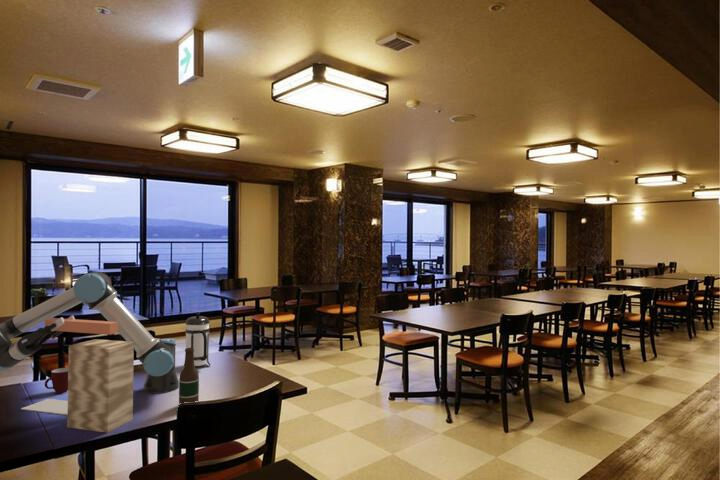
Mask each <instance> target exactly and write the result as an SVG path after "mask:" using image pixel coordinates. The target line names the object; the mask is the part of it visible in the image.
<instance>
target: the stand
mask: <svg viewBox="0 0 720 480" xmlns="http://www.w3.org/2000/svg"><path fill="white" fill-rule="evenodd" d="M134 351H135V349H134V342H127V341H126V340H125V341H124V340H111V339H110V340H109V339H98V338H97V339H96V338H95V339H91V340H86V341H83V342H78V343H75V344H72V345H71V344H70V345H68V367H67V368H68V390H67V401H68V415H66V417H67V418H66V419H67V423H66V425H67V426H66V427H67V428H71V429H78V430H84V431H85V430H86V431H91V432H92V431H93V432H99V433H100V432H102V433H111V432H112V431H114V430H116V429H117V428H120V427H122V426H123V425H125V424H128V423H130V422H131V421H133V419H134V416H133V415H134V413H133V412H134V368H135V367H134V363H135V359H134V358H135V357H134V355H135V352H134Z"/></svg>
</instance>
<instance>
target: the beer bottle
mask: <svg viewBox="0 0 720 480" xmlns="http://www.w3.org/2000/svg"><path fill="white" fill-rule="evenodd" d="M184 352H185V354H184V363H185V365H184V364H183V368H182V369H181V371H180V374H179V378H178V380H179V387H178V389H179V390H178V405H179V404H180V403H184V402H195V401H198V402H199V398H200V394H199V390H200V389H199V388H200V384H199V382H200V377H199V372H198V370H197V368H196V366H194V349H193V348H187V349H186V348H185V349H184Z"/></svg>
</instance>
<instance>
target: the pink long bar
mask: <svg viewBox="0 0 720 480" xmlns="http://www.w3.org/2000/svg"><path fill="white" fill-rule="evenodd" d="M59 318H60V317H59ZM59 318H58V317H54V318H53V317H52V318H50V319H46V320H45V321H44V327H46V326H49V325H50V324H52V323H53V322H55V321H56V320H58V319H59ZM63 319H64V321H65V324H64V325H62V326H61V327H59V328H58V329H56V330H54V331H64V332H67V333H80V334H81V333H82V334H94V335H95V334H98V335H108V336H109V335H114V334H117V333H119V332H118V322H110V321H108V320H107V321H105V320H92V319H91V320H90V319H76V318H75V319H67V318H63Z"/></svg>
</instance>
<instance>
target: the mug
mask: <svg viewBox="0 0 720 480" xmlns="http://www.w3.org/2000/svg"><path fill="white" fill-rule="evenodd" d="M50 374H51V375H50V377H48V378H47V379H45V380H44V381H45V382H44V387H45V388H46V389H48V390H54V391H55V393H56V394H65V393H68V367H61V368H56V369H52V370H51V373H50ZM49 381H51V385H52V386H48V383H49Z"/></svg>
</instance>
